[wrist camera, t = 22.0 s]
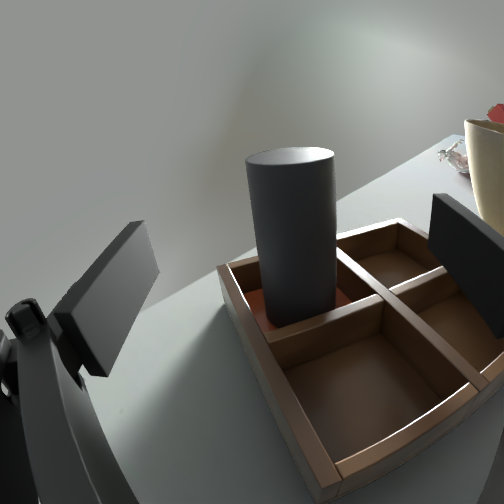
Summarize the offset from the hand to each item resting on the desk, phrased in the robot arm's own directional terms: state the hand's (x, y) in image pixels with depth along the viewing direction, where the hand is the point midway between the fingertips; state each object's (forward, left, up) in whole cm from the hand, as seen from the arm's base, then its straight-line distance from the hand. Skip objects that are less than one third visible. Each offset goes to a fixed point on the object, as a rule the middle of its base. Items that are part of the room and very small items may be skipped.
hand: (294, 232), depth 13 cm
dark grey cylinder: (+2, +4, -7) cm, 8 cm away
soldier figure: (+49, +26, -8) cm, 56 cm away
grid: (+5, 0, -8) cm, 10 cm away
